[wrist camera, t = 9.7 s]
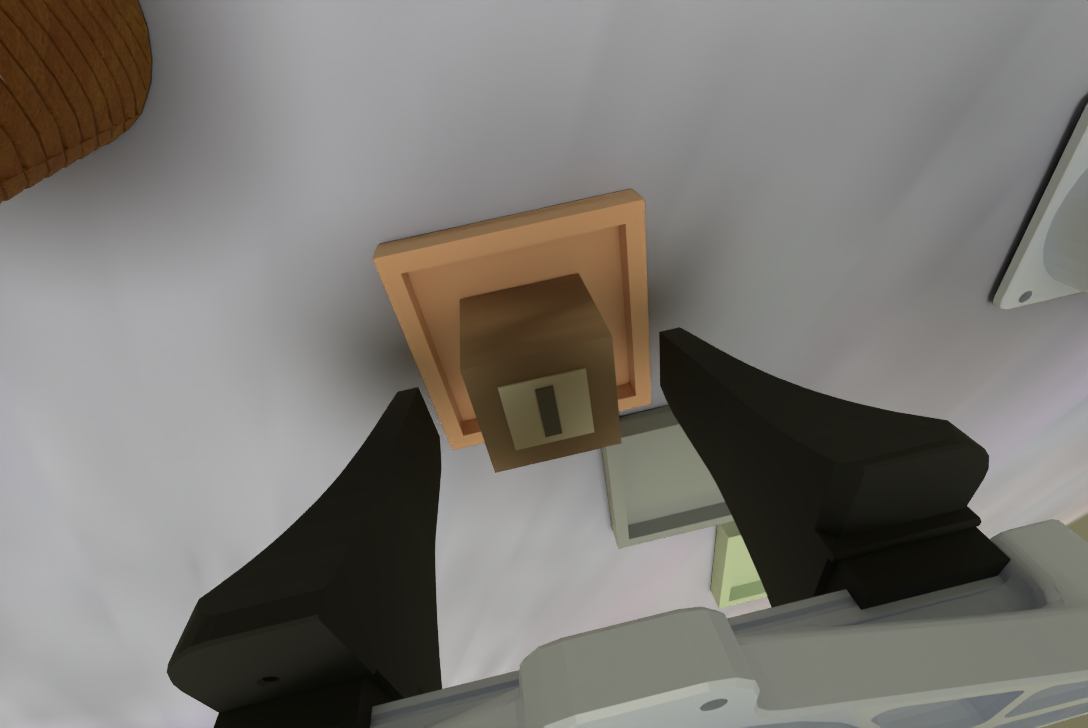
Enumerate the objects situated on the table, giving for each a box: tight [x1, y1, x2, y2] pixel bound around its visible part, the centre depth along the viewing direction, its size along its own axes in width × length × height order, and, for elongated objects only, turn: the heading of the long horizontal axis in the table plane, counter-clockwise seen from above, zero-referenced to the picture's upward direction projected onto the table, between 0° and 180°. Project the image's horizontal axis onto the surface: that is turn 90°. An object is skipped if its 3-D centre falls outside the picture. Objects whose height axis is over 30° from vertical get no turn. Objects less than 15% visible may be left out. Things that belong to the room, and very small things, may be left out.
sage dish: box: [711, 521, 767, 608], centre depth 27 cm, size 8×8×1 cm
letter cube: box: [460, 273, 622, 473], centre depth 14 cm, size 4×4×4 cm
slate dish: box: [602, 406, 734, 549], centre depth 22 cm, size 8×8×1 cm
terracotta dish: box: [373, 189, 651, 450], centre depth 16 cm, size 8×8×1 cm
